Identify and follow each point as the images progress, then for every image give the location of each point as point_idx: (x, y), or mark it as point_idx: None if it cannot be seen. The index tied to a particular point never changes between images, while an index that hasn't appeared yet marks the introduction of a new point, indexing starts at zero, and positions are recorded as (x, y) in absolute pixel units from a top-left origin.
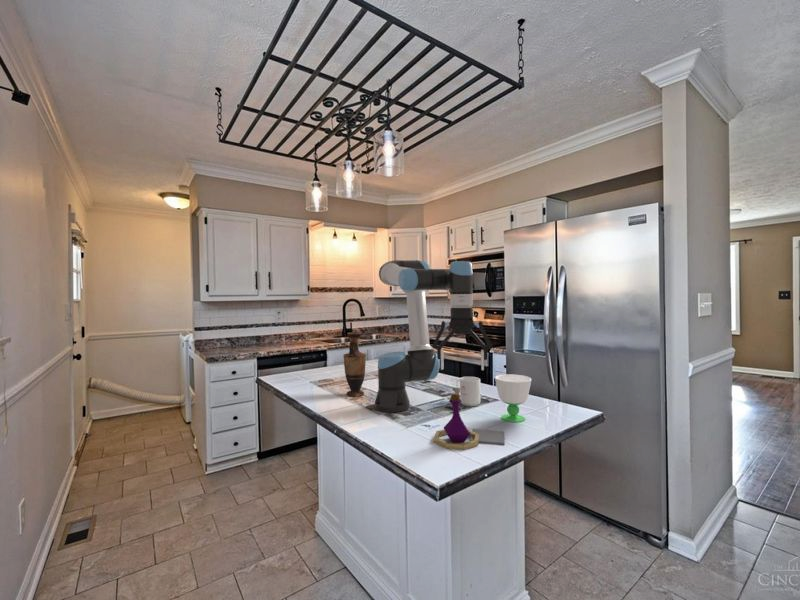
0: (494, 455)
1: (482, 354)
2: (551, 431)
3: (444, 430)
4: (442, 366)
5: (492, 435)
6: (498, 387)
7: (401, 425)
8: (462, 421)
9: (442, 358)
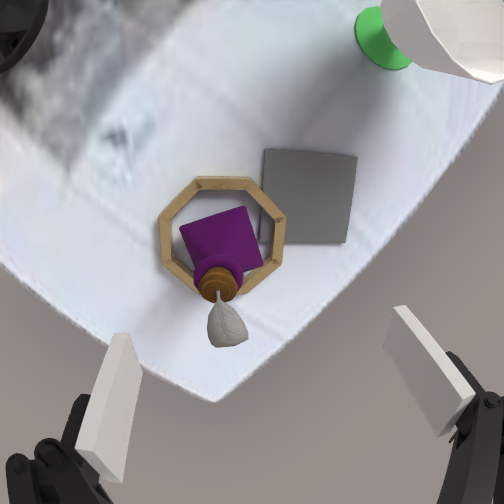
0: (312, 300)
1: (431, 416)
2: (454, 139)
3: (180, 206)
4: (135, 386)
5: (322, 196)
6: (403, 20)
7: (50, 160)
8: (243, 266)
9: (127, 431)
